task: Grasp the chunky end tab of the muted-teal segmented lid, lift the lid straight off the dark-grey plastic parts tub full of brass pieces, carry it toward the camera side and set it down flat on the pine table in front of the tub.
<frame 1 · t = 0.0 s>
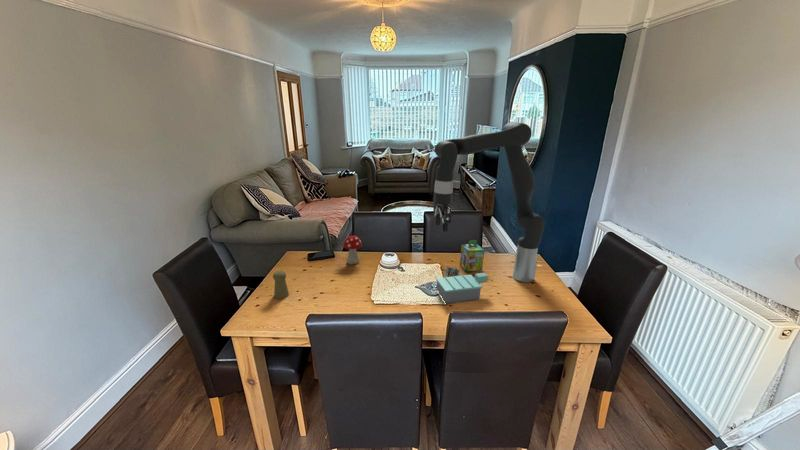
hand: (440, 227, 139), 29 cm above the table, fingers open, 8 cm apart
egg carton: (451, 278, 159), on the table
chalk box: (470, 267, 170), on the table
lid: (458, 283, 141), point 6 cm above the table, touching tub
tub: (457, 295, 143), on the table
olive pawn figure: (281, 295, 141), on the table
decorative mushroom: (353, 262, 173), on the table
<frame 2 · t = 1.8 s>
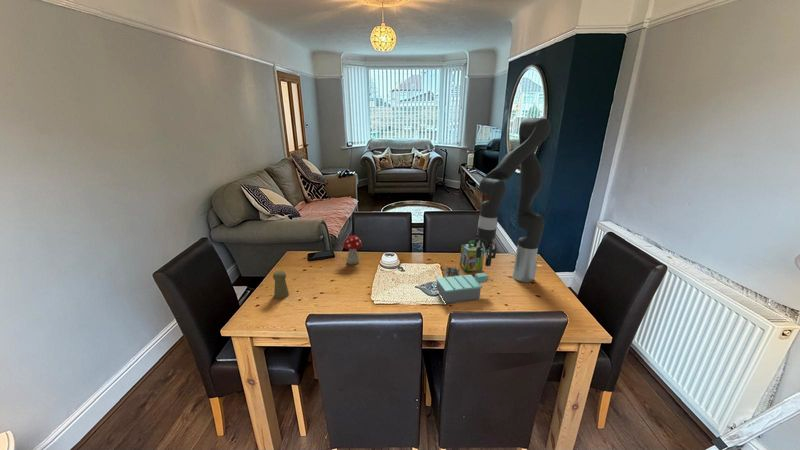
hand: (482, 261, 140), 16 cm above the table, fingers open, 8 cm apart
nothing on the table moved.
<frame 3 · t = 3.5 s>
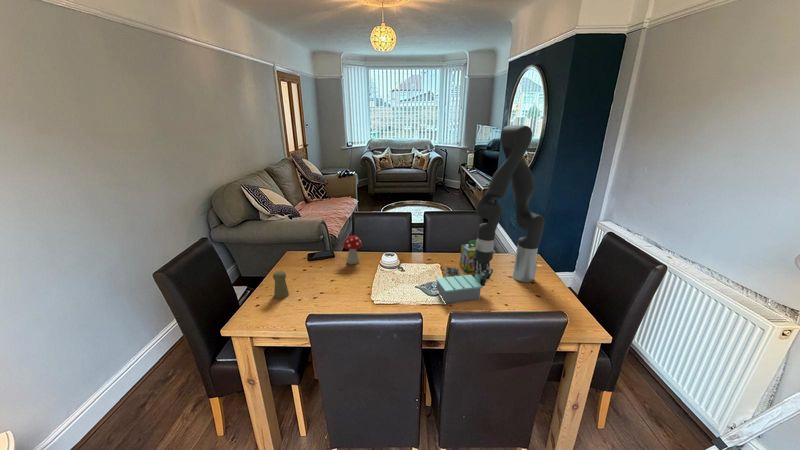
hand: (480, 283, 144), 5 cm above the table, fingers closed on lid, 3 cm apart
lid: (458, 283, 141), point 6 cm above the table, touching gripper, tub
everything else where it was.
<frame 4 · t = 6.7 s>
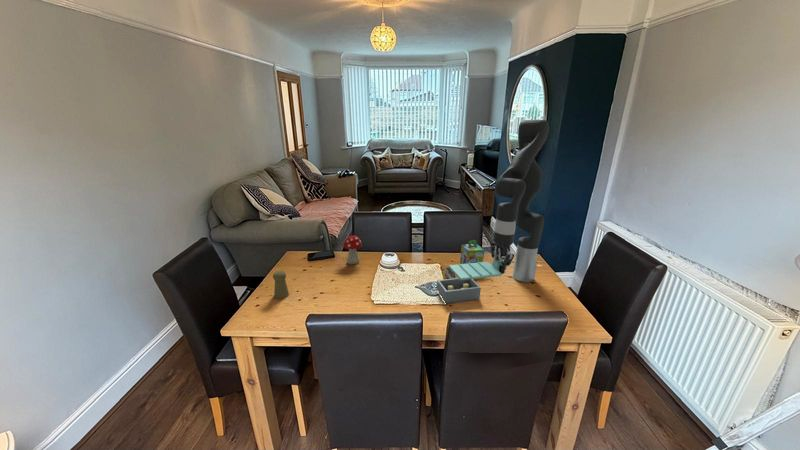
hand: (498, 271, 129), 17 cm above the table, fingers closed on lid, 3 cm apart
lid: (474, 271, 126), point 18 cm above the table, touching gripper
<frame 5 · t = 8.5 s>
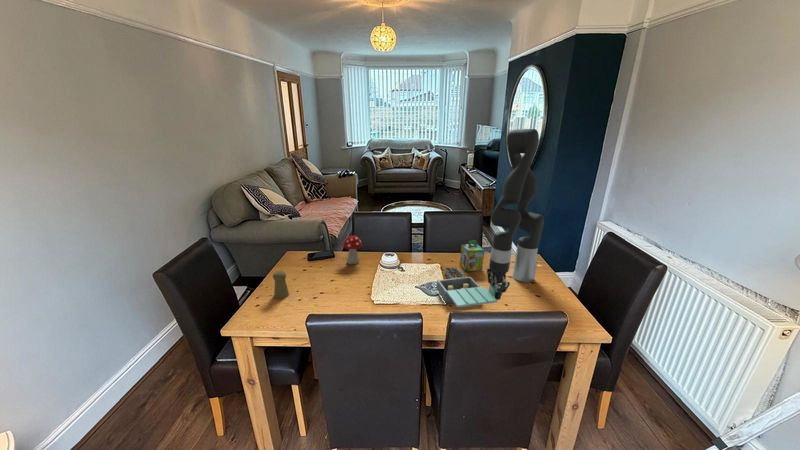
hand: (494, 296, 132), 6 cm above the table, fingers closed on lid, 3 cm apart
lid: (471, 297, 129), point 7 cm above the table, touching gripper
when the fingers open (1 cm above the table, at t = 9.8 s): lid drops 2 cm, on the table.
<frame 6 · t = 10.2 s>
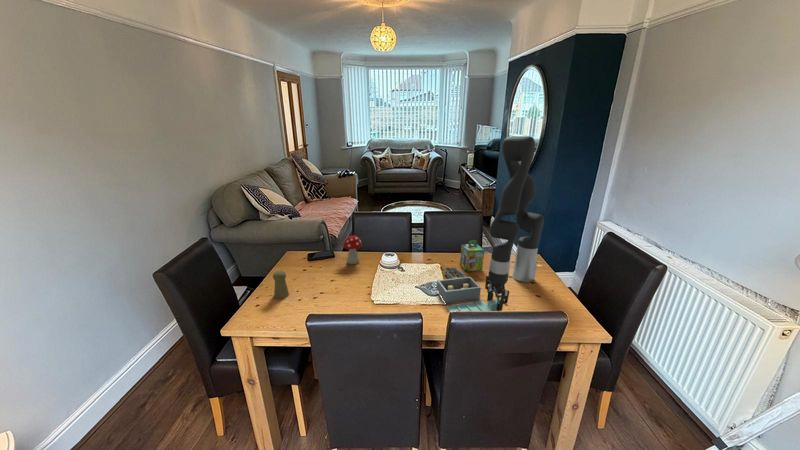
hand: (494, 305, 134), 2 cm above the table, fingers open, 6 cm apart
lid: (470, 312, 132), on the table
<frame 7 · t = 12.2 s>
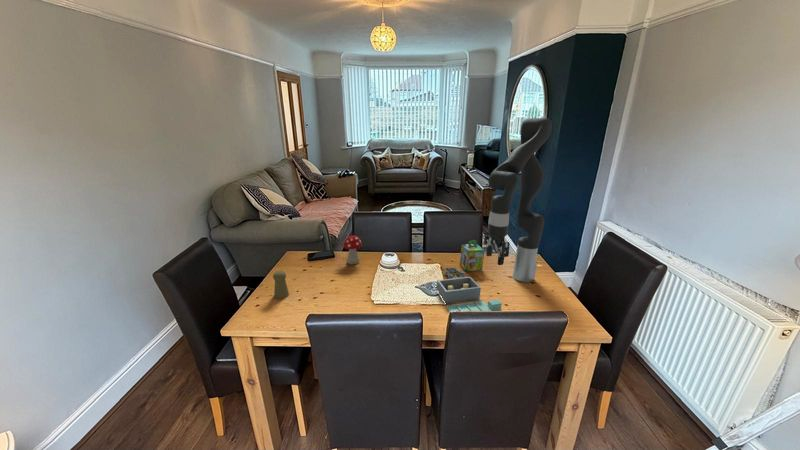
hand: (494, 260, 132), 20 cm above the table, fingers open, 8 cm apart
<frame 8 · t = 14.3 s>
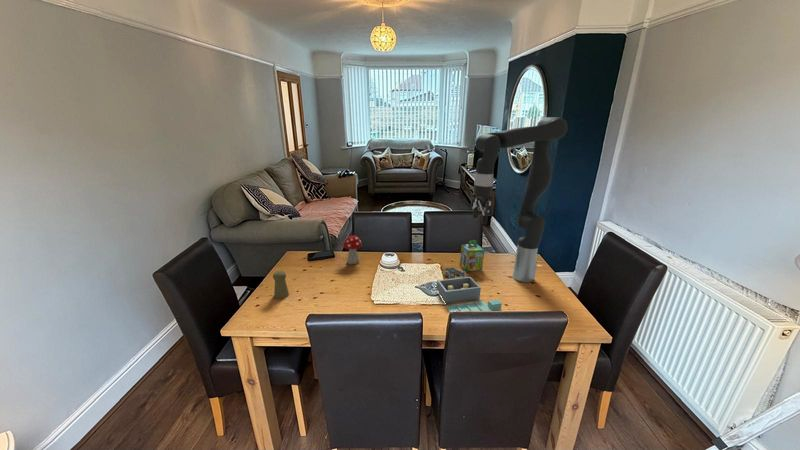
hand: (479, 220, 141), 32 cm above the table, fingers open, 8 cm apart
at the end: lid inside the target area (0.1 cm from its centre), on the table; lid touching table; the gripper is holding nothing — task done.
